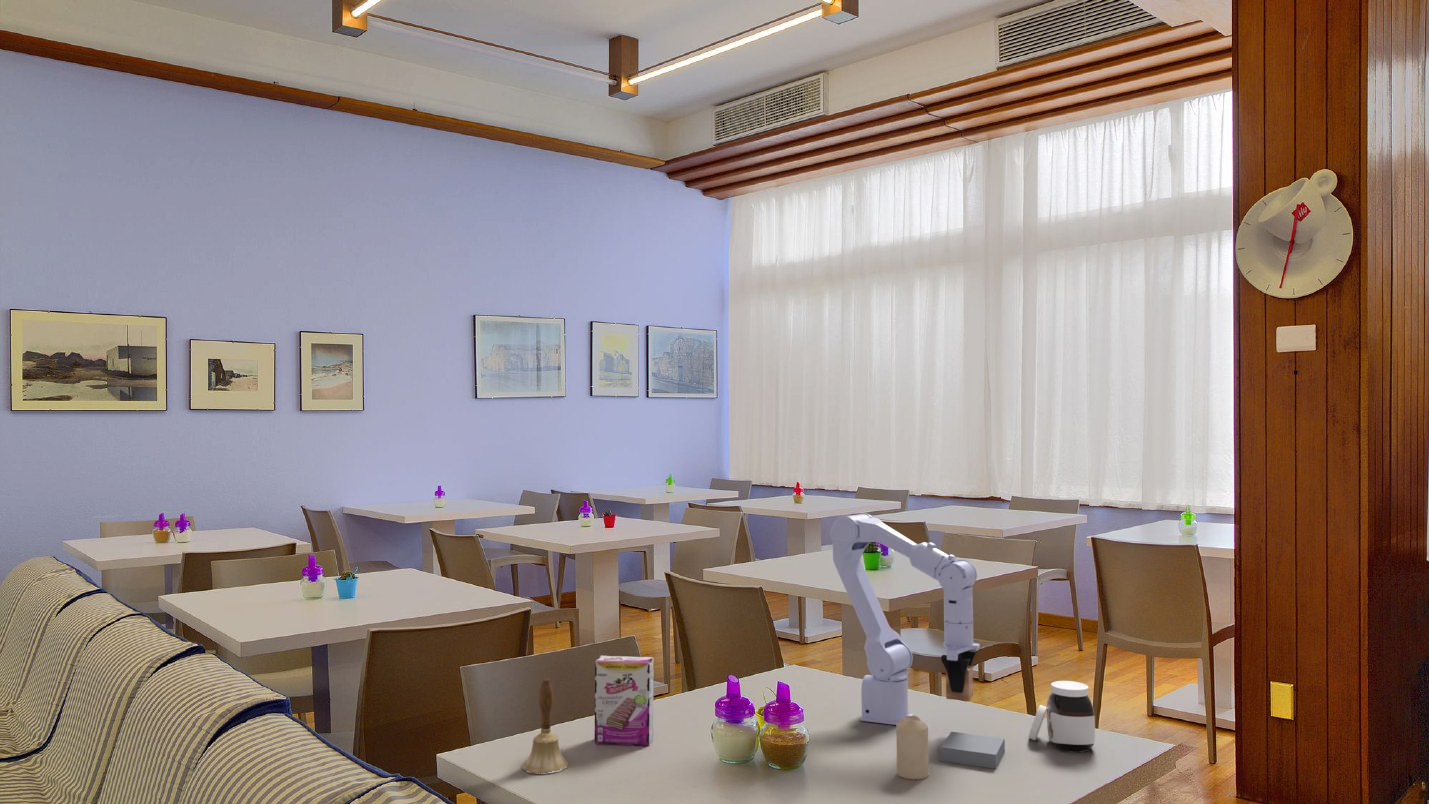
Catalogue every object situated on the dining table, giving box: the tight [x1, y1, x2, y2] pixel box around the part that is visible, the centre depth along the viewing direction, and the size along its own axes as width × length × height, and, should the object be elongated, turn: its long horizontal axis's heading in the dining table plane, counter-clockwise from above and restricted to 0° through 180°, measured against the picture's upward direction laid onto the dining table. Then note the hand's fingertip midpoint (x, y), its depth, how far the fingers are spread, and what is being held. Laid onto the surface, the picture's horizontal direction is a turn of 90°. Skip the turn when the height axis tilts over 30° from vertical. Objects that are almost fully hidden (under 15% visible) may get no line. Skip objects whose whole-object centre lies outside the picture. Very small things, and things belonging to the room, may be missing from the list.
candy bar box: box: [594, 655, 655, 747], centre depth 187 cm, size 11×5×16 cm, turn 84°
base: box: [939, 731, 1006, 769], centre depth 177 cm, size 10×10×2 cm
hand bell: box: [521, 678, 569, 775], centre depth 173 cm, size 8×8×16 cm
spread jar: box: [1028, 680, 1096, 753], centre depth 183 cm, size 12×11×12 cm
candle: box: [895, 715, 929, 780], centre depth 168 cm, size 6×6×10 cm
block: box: [945, 665, 974, 702], centre depth 190 cm, size 4×4×6 cm
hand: (959, 689), depth 190 cm, fingers closed on block, 4 cm apart
